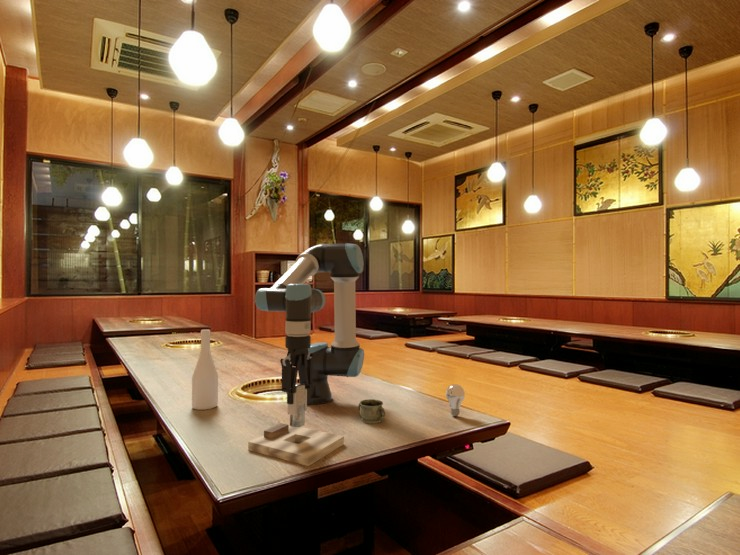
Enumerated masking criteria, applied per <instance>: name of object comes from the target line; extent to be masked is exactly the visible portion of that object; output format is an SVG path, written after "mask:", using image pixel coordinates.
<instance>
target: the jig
mask: <svg viewBox="0 0 740 555" xmlns="http://www.w3.org/2000/svg"><path fill="white" fill-rule="evenodd" d="M344 438H345V435H344V436H343V435H340V434H335V433H331V432H325V431H321V430H317V429H313V428H312V429H311V428H307V427H304V426H302V427H292V426H290V423H282V422H280V423H278V424H276V425H274V426H271V427H269V428H267V429H264V431H263V434H261V435H260V436H258V437H255V438H253V439H250V440H249V441H248V445H247V447H248V448H247V451H251V452H254V453H258V454H262V455H266V456H269V457H273V458H276V459H281V460H285V461H287V462H291V463H295V464H299V465H302V466H307V467H310V466H311V465H313V464H314V463H316V462H318V461H319V460H321V459H323V458H325V457H326V456H327V455H329V454H330V453H333V452H334V451H335V450H338V449H339V448H340V447H342V446H343V444H344V445H345V441H344V440H345V439H344ZM297 442H298V443H297Z"/></svg>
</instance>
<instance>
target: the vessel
mask: <svg viewBox="0 0 740 555" xmlns="http://www.w3.org/2000/svg"><path fill="white" fill-rule="evenodd" d="M383 405H384V402H383V401H382V400H379V399H372V398H371V399H363V400H360V401H359V403H358V406H357V410H358V413H359V415H360V416H361V418H360V421H361V422H363V423H366V424H376V423H380V422H382V421H384V418H385V416H386V411H385V410H386V409H385V408H384V407H383Z"/></svg>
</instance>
